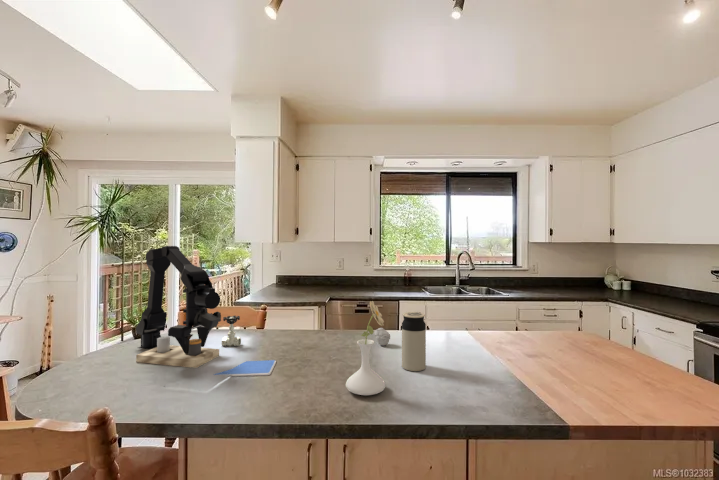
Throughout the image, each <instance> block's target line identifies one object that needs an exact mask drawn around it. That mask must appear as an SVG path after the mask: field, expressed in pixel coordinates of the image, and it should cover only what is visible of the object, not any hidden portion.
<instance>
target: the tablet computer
mask: <svg viewBox="0 0 719 480" xmlns="http://www.w3.org/2000/svg"><path fill="white" fill-rule="evenodd" d="M276 364H277V360H275V359H268V360H265V359H263V360H245V361H244V362H241V363H240V364H238V365H237V366H234V367H233V368H230V369H227V370H224V371H221V372H217V373H213V375H214V376H215V375H218V376H220V375H222V376H223V375H224V376H225V375H228V376H227V377H228V378H229V377H251V376H253V377H255V376H256V377H257V376H261V377H262V376H270V375H272V372H273V370H274V368H275V366H276Z"/></svg>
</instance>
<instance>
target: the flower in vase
mask: <svg viewBox="0 0 719 480" xmlns="http://www.w3.org/2000/svg"><path fill="white" fill-rule="evenodd" d="M369 307H370V310H371V313H372V315H371V316H370V319H369V320H368V324H367V326H366V327H367V328H366V331H363V333H362V334H361V335H360V336H361V337H365V338H364V339H358V340H357V341H356V343H357V345H358V346H359V348H360V352H361V366H360V368H359V369H358V370H357V371H355V372H354V373H353V374H352V375H350V376H349V378H347V380H346V382H345V388H346V389H347V390H348V391H349V392H350V393H352V394H355V395H359V396H360V395H361V396H372V395H377V394H380V393H381V392H383V391H384V390H385V388H386V385H387V384H386V382H385V379H384V378H383V377H381V376H380V374H379V373H377V372H375V370H373V369H372V367H371V365H370V363H371V362H370V361H371V360H370V356H371V350H372V348H373V345H374V344H375V340H372V339H368V336H369V335H373V334H374V332H375V330H374V328H373V327H372V326H371V325H370V323H371V322H372V320H373V318H374V319H375V321H376V322H377V324H378V325H379V326H381V327H383V326H385V324H384V323H385V320H384V318H382V317H383V315H382V313H381V312H380V310H379V307H378V306H377V305H375V302H374V301H373V300H372V301H371V300H370V301H369Z"/></svg>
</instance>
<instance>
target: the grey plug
mask: <svg viewBox="0 0 719 480" xmlns="http://www.w3.org/2000/svg"><path fill="white" fill-rule="evenodd" d="M170 345H171V336H161V337H160V338H157V353H166V352H168V351H170Z"/></svg>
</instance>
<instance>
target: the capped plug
mask: <svg viewBox="0 0 719 480" xmlns="http://www.w3.org/2000/svg"><path fill="white" fill-rule="evenodd" d="M201 348H202V347H201V339H199V338H192V339H190V343H189V352H188V355H189V356H197V355H199V354H201Z"/></svg>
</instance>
